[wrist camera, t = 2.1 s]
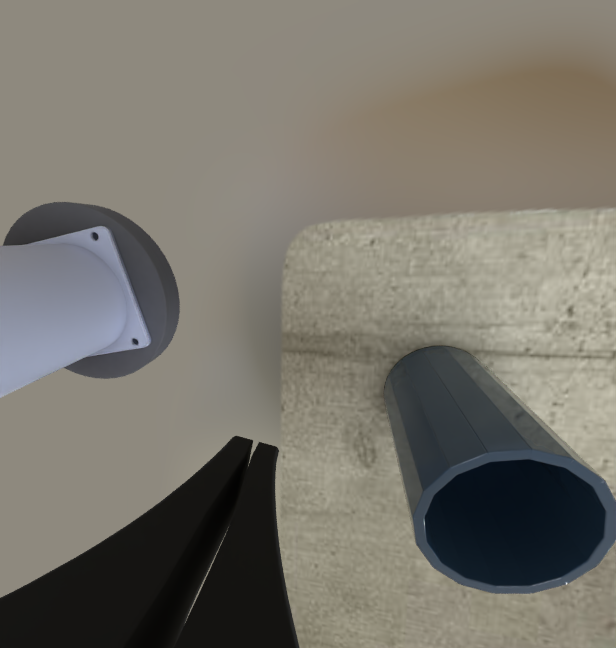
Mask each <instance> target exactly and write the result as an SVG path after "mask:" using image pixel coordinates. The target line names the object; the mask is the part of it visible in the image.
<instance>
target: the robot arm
mask: <svg viewBox="0 0 616 648" xmlns="http://www.w3.org/2000/svg"><path fill="white" fill-rule="evenodd" d="M96 233H97V234H98V239H97V238H96ZM135 339H137V340H138V343H137V342H136V341H135ZM150 343H151V337H150V334H149V331H148V329H147V326H146V323H145V320H144V318H143V315H142V312H141V309H140V307H139V304H138V301H137V298H136V296H135V293H134V290H133V287H132V285H131V282H130V279H129V276H128V274H127V271H126V268H125V266H124V263H123V260H122V257H121V255H120V252H119V249H118V246H117V244H116V241H115V238H114V235H113V233H112V231H111V229H109V228H108V227H106V226H98V227H94V228H90V229H86V230H82V231H78V232H74V233H70V234H66V235H62V236H58V237H54V238H50V239H46V240H42V241H38V242H34V243H30V244H26V245H12V246H0V398H1V397H3V396H5V395H7V394H9V393H11V392H13V391H15V390H17V389H19V388H22V387H24V386H26V385H28V384H30V383H32V382H34V381H36V380H38V379H40V378H42V377H45V376H47V375H49V374H51V373H53V372H55V371H57V370H59V369H61V368H63V367H65V366H68V365H70V364H72V363H74V362H76V361H78V360H80V359H82V358H84V357H88V356H94V355H100V354H107V353H113V352H119V351H125V350H131V349H137V348H144V347H146V346H148V345H150ZM252 444H253V440H250V439H246V438H243V437H239V436H235V437H233V438H232V439H231V440H230V441H229V442H228V443H227V444H226V445H225V446H224V447H223V448H222V449H221V450H220V451H219V452H218V453H217V454H216V455H215V456H214V457H213V458H212V459H211V460H210V461H209V462H208V463H207V464H205V465H204V466H203V467H202V468H201V469H200V470H199V471H198V472H196V473H195V474H194V475H193V476H192V477H191V478H190V479H188V480H187V481H186V482H185V483H184V484H182V485H181V486H180V487H179V488H177V489H176V490H175V491H174V492H172V493H171V494H170V495H169V496H167V497H166V498H165V499H163V500H162V501H161V502H160V503H158V504H157V505H155V506H154V507H153V508H152V509H150V510H149V511H147V512H146V513H144V514H143V515H142V516H140V517H139V518H137V519H136V520H135V521H133V522H131V523H130V524H129V525H127V526H126V527H124V528H123V529H121V530H119V531H118V532H116V533H115V534H113V535H112V536H110V537H109V538H107V539H105V540H104V541H102V542H101V543H99V544H97V545H96V546H94V547H92V548H91V549H89V550H88V551H86V552H84V553H83V554H81V555H79V556H77V557H76V558H74V559H72V560H70V561H68V562H67V563H65V564H63V565H61V566H60V567H58V568H56V569H54V570H52V571H50V572H49V573H47V574H45V575H43V576H42V577H40V578H38V579H36V580H34V581H32V582H31V583H29V584H27V585H25V586H23V587H21V588H19V589H17V590H15V591H14V592H12V593H9V594H7V595H5V596H3V597H1V598H0V648H299V644H298V640H297V635H296V631H295V627H294V622H293V618H292V613H291V609H290V605H289V600H288V595H287V590H286V584H285V579H284V573H283V567H282V561H281V554H280V547H279V539H278V529H277V519H276V501H275V471H276V461H277V457H278V452H279V450H278V448H277V447H275V446H272V445H268V444H264V443H261V442H259V444H258V446H257V447H256V449H255V451H254V453H253V455H252V457H251V460H250V463H249V459H250V454H251V449H252ZM248 465H249V466H248ZM228 527H229V528H228ZM227 529H228V530H227ZM226 531H227V532H226ZM225 533H226V535H225ZM224 536H225V537H224ZM223 538H224V539H223ZM222 540H223V542H222ZM221 542H222V544H221ZM220 544H221V546H220ZM219 546H220V548H219ZM218 548H219V551H218ZM217 551H218V553H217V555H216V552H217ZM215 555H216V558H215V560H214V562H213V564H212V567H211V569H210V571H209V573H208V575H207V577H206V580H205V582H204V584H203V587H202V589H201V591H200V593H199V595H198V597H197V599H196V602H195V604H194V606H193V608H192V610H191V612H190V614H189V611H190V609H191V607H192V604H193V602H194V600H195V597H196V595H197V593H198V591H199V589H200V587H201V584H202V582H203V580H204V578H205V576H206V574H207V572H208V570H209V568H210V565H211V563H212V561H213V559H214V557H215ZM188 614H189V616H188ZM187 616H188V618H187ZM186 619H187V621H186ZM185 621H186V623H185ZM184 624H185V625H184Z"/></svg>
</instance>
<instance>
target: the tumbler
mask: <svg viewBox="0 0 616 648" xmlns="http://www.w3.org/2000/svg"><path fill="white" fill-rule="evenodd" d="M384 401H385V406H386V412H387V417H388V421H389V426H390V430H391V435H392V439H393V444H394V448H395V453H396V457H397V461H398V466H399V470H400V475H401V479H402V484H403V488H404V493H405V497H406V502H407V506H408V511H409V515H410V520H411V524H412V529H413V533H414V537H415V542H416V545H417V546H418V547H419V549H420V550H421V552H422V553H423V554H424V556H425V557H426V559H427V560H428V561H429V563H430V564H431V565H432V567H433V568H435V569H436V570H438V571H439V572H441V573H442V574H444V575H446V576H447V577H449V578H450V579H452V580H454V581H455V582H457V583H458V584H461V585H464V586H467V587H471V588H475V589H479V590H482V591H486V592H490V593H495V594H530V593H536V592H540V591H543V590H547V589H551V588H555V587H559V586H562V585H566V584H568V583H570V582H572V581H574V580H575V579H577V578H578V577H580V576H582V575H583V574H585V573H587V572H588V571H590V570H591V569H593V568H595V567H596V566H597V565H599V563H600V562H601V561H602V559H603V558H604V557H605V555H606V554H607V552H608V551H609V550H610V548H611V547H612V546H613V544H614V543H615V541H616V500H615V498H614V496H613V495H612V493H611V491H610V489H609V487H608V485H607V483H606V481H605V480H604V479H603V478H602V477H601V476H600V475H599V474H598V473H597V472H596V471H595V470H594V469H593V468H592V467H591V466H590V465H589V464H587V463H586V462H585V461H584V460H583V459H582V458H581V457H580V456H579V455H578V454H577V453H576V452H575V451H574V450H573V449H572V448H571V447H570V446H569V445H568V444H567V443H566V442H565V441H563V440H562V439H561V438H560V437H559V436H558V435H557V434H556V433H555V432H554V431H553V430H552V429H551V428H550V427H549V426H548V425H547V424H546V423H545V422H544V421H543V420H542V419H541V418H539V417H538V416H537V415H536V414H535V413H534V412H533V411H532V410H531V409H530V408H529V407H528V406H527V405H526V404H525V403H524V402H523V401H522V400H521V399H520V398H519V397H518V396H517V395H515V394H514V393H513V392H512V391H511V390H510V389H509V388H508V387H507V386H506V385H505V384H504V383H503V382H502V381H501V380H500V379H499V378H498V377H497V376H496V375H495V374H494V373H493V372H491V371H490V370H489V369H488V368H487V367H486V366H485V365H484V364H483V363H481V362H480V361H479V360H478V359H476V358H475V357H474V356H473V355H471V354H469V353H467V352H465V351H463V350H461V349H457V348H454V347H448V346H432V347H427V348H423V349H419V350H417V351H414V352H412V353H410V354H409V355H407V356H405V357H404V358H403V359H401V360H400V361H399V362H398V363H397V364H396V365H395V366H394V367H393V369H392V370H391V372H390V373H389V375H388V377H387V380H386V382H385V387H384Z"/></svg>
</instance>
